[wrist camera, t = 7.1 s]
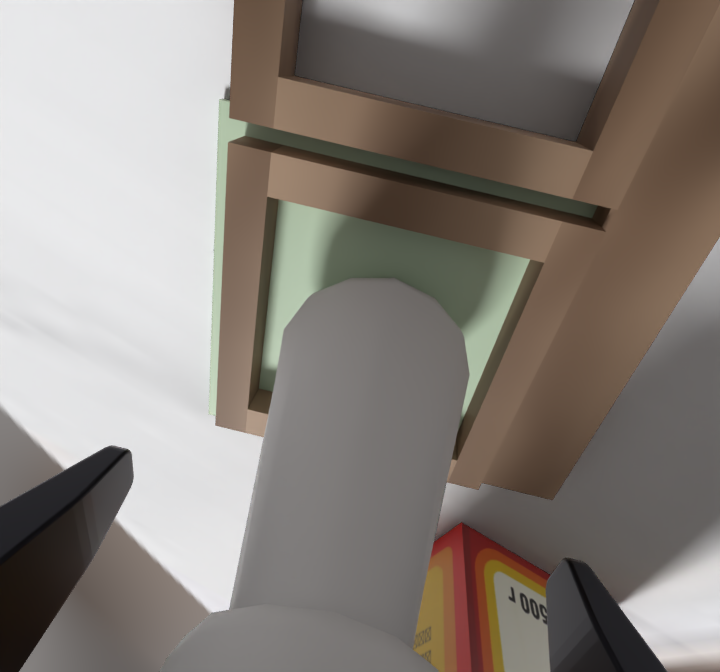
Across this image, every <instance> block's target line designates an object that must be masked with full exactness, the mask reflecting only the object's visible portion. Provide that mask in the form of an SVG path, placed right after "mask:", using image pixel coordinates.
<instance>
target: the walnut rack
mask: <svg viewBox="0 0 720 672" xmlns="http://www.w3.org/2000/svg"><path fill="white" fill-rule="evenodd" d="M302 1H303V0H234V17H233V39H232V62H231V84H230V107H229V118H231V119H235V120H239V121H244V122H248V123H252V124H256V125H260V126H265V127H269V128H273V129H277V130H282V131H286V132H290V133H294V134H298V135H303V136H307V137H311V138H315V139H320V140H324V141H328V142H332V143H336V144H341V145H345V146H349V147H353V148H358V149H362V150H366V151H370V152H374V153H379V154H383V155H387V156H391V157H396V158H400V159H404V160H408V161H412V162H417V163H421V164H425V165H429V166H434V167H438V168H442V169H446V170H450V171H455V172H459V173H463V174H467V175H471V176H476V177H480V178H484V179H488V180H493V181H497V182H501V183H505V184H509V185H514V186H518V187H522V188H526V189H531V190H535V191H539V192H543V193H547V194H552V195H556V196H560V197H564V198H569V199H573V200H577V201H581V202H585V203H590V204H594V205H598V206H597V209H596V211H595V213H594V215H593V217H592V218H589V217H585V216H581V215H576V214H572V213H568V212H564V211H559V210H555V209H551V208H547V207H543V206H538V205H534V204H530V203H526V202H522V201H517V200H513V199H509V198H505V197H500V196H496V195H492V194H488V193H484V192H479V191H475V190H471V189H467V188H463V187H458V186H454V185H450V184H446V183H442V182H437V181H433V180H429V179H425V178H420V177H416V176H412V175H408V174H404V173H399V172H395V171H391V170H387V169H383V168H378V167H374V166H370V165H366V164H361V163H357V162H353V161H349V160H345V159H340V158H336V157H332V156H328V155H324V154H319V153H315V152H311V151H307V150H302V149H298V148H294V147H290V146H286V145H281V144H277V143H273V142H269V141H265V140H260V139H256V138H252V137H248V136H243V137H240V138H237V139H235V140H232V141H230V142H228V152H227V174H226V197H225V220H224V242H223V265H222V287H221V310H220V332H219V355H218V377H217V400H216V423H215V425H216V426H220V427H224V428H228V429H232V430H236V431H240V432H244V433H249V434H253V435H257V436H261V437H264V434H265V429H266V424H267V419H268V414H269V409H270V404H271V399H272V394H273V392H271V391H267V390H263V389H259V382H260V373H261V363H262V354H263V344H264V335H265V325H266V316H267V306H268V297H269V287H270V277H271V268H272V258H273V249H274V239H275V230H276V220H277V211H278V201H279V200H283V201H288V202H292V203H296V204H300V205H304V206H309V207H313V208H317V209H321V210H325V211H330V212H334V213H338V214H342V215H346V216H350V217H355V218H359V219H363V220H367V221H371V222H376V223H380V224H384V225H388V226H392V227H397V228H401V229H405V230H409V231H413V232H417V233H422V234H426V235H430V236H434V237H438V238H443V239H447V240H451V241H455V242H459V243H464V244H468V245H472V246H476V247H480V248H484V249H489V250H493V251H497V252H501V253H505V254H510V255H514V256H518V257H522V258H526V259H530V261H529V263H528V266H527V268H526V271H525V273H524V275H523V278H522V280H521V282H520V285H519V287H518V290H517V292H516V294H515V297H514V299H513V301H512V304H511V306H510V309H509V311H508V313H507V316H506V318H505V320H504V323H503V325H502V328H501V330H500V332H499V335H498V337H497V340H496V342H495V344H494V347H493V349H492V351H491V354H490V356H489V359H488V361H487V363H486V366H485V368H484V370H483V373H482V375H481V378H480V380H479V382H478V385H477V387H476V389H475V392H474V394H473V397H472V399H471V401H470V404H469V406H468V408H467V411H466V413H465V416H464V418H463V420H462V423H461V425H460V427H459V430H458V432H457V436H456V441H455V446H454V450H453V455H452V460H451V464H450V469H449V474H448V478H447V482H448V483H452V484H456V485H460V486H465V487H469V488H473V489H477V490H478V489H479V487H480V485H481V483H484V484H488V485H492V486H497V487H501V488H505V489H509V490H513V491H517V492H521V493H525V494H529V495H533V496H537V497H541V498H545V499H550V500H553V499H554V497H555V495H556V494H557V492H558V491H559V489H560V488H561V486H562V484H563V483H564V481H565V480H566V478H567V477H568V475H569V473H570V472H571V470H572V469H573V467H574V466H575V464H576V462H577V461H578V459H579V458H580V456H581V454H582V453H583V451H584V450H585V448H586V447H587V445H588V443H589V442H590V440H591V439H592V437H593V436H594V434H595V432H596V431H597V429H598V428H599V426H600V425H601V423H602V421H603V420H604V418H605V417H606V415H607V414H608V412H609V410H610V409H611V407H612V406H613V404H614V403H615V401H616V399H617V398H618V396H619V395H620V393H621V391H622V390H623V388H624V387H625V385H626V384H627V382H628V380H629V379H630V377H631V376H632V374H633V373H634V371H635V369H636V368H637V366H638V365H639V363H640V362H641V360H642V358H643V357H644V355H645V354H646V352H647V351H648V349H649V347H650V346H651V344H652V343H653V341H654V340H655V338H656V336H657V335H658V333H659V332H660V330H661V328H662V327H663V325H664V324H665V322H666V321H667V319H668V317H669V316H670V314H671V313H672V311H673V310H674V308H675V306H676V305H677V303H678V302H679V300H680V299H681V297H682V295H683V294H684V292H685V291H686V289H687V288H688V286H689V284H690V283H691V281H692V280H693V278H694V277H695V275H696V273H697V272H698V270H699V269H700V267H701V265H702V264H703V262H704V261H705V259H706V258H707V256H708V254H709V253H710V251H711V250H712V248H713V247H714V245H715V243H716V242H717V240H718V239H719V237H720V0H635V1H634V4H633V6H632V9H631V11H630V13H629V16H628V18H627V21H626V23H625V25H624V28H623V30H622V33H621V35H620V37H619V40H618V42H617V45H616V47H615V49H614V52H613V54H612V57H611V59H610V61H609V64H608V66H607V69H606V71H605V73H604V76H603V78H602V81H601V83H600V85H599V88H598V90H597V93H596V95H595V97H594V100H593V102H592V105H591V107H590V109H589V112H588V114H587V117H586V119H585V121H584V124H583V126H582V129H581V131H580V133H579V136H578V138H577V141H576V142H574V141H569V140H565V139H561V138H557V137H552V136H548V135H544V134H540V133H535V132H531V131H527V130H523V129H518V128H514V127H510V126H506V125H501V124H497V123H493V122H489V121H484V120H480V119H476V118H472V117H467V116H463V115H459V114H455V113H450V112H446V111H442V110H438V109H433V108H429V107H425V106H421V105H416V104H412V103H408V102H404V101H399V100H395V99H391V98H387V97H382V96H378V95H374V94H370V93H365V92H361V91H357V90H353V89H348V88H344V87H340V86H336V85H331V84H327V83H323V82H319V81H314V80H310V79H306V78H302V77H297V76H294V75H295V66H296V57H297V48H298V38H299V29H300V20H301V11H302Z"/></svg>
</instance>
